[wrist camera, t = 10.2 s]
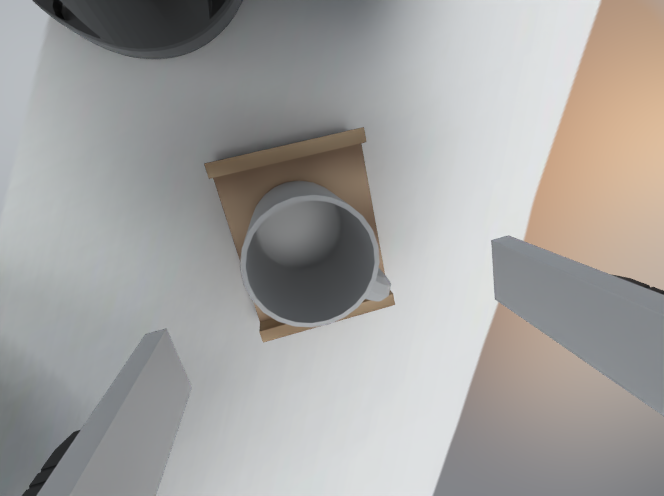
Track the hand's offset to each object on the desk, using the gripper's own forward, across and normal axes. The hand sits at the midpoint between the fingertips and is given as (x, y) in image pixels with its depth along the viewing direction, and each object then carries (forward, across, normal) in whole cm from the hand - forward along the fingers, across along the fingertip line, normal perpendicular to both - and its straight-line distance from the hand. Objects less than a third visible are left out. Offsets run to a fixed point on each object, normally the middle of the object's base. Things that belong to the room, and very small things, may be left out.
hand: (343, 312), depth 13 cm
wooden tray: (+16, 0, 0) cm, 16 cm away
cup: (+14, 0, 0) cm, 14 cm away
